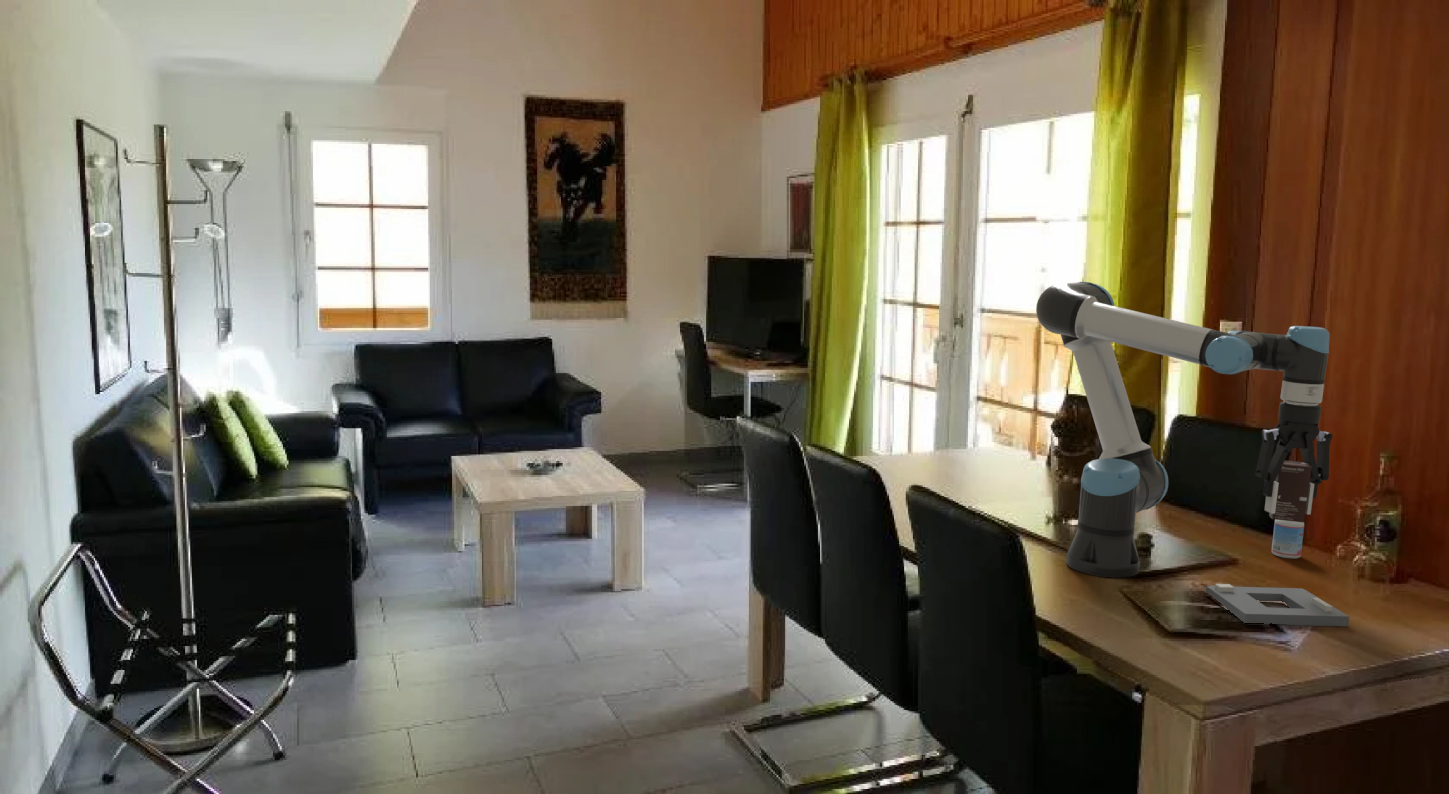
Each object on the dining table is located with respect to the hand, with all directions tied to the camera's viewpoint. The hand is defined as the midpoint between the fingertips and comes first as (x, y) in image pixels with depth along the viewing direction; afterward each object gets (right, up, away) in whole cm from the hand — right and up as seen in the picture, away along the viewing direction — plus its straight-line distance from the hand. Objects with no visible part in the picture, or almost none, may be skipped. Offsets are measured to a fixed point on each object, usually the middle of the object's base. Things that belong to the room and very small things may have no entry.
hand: (1287, 512), depth 219 cm
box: (0, -2, 0) cm, 2 cm away
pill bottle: (+15, -13, +28) cm, 35 cm away
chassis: (-8, -18, -10) cm, 22 cm away
